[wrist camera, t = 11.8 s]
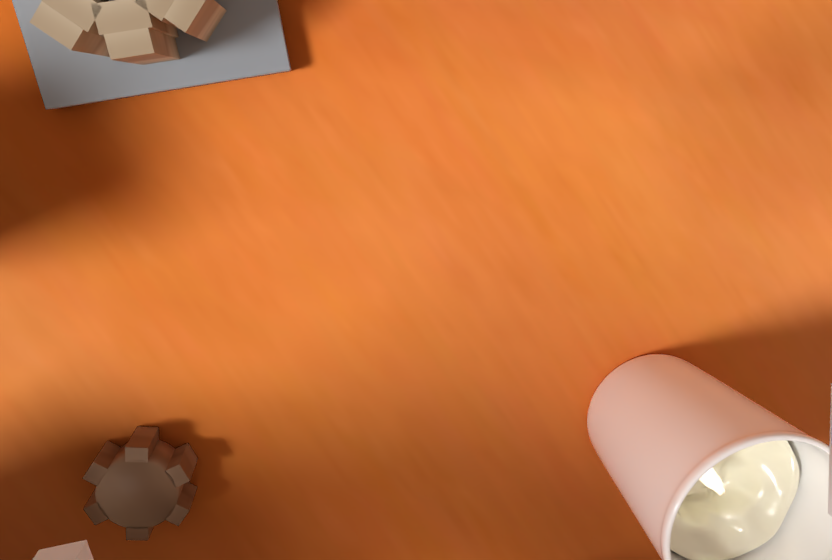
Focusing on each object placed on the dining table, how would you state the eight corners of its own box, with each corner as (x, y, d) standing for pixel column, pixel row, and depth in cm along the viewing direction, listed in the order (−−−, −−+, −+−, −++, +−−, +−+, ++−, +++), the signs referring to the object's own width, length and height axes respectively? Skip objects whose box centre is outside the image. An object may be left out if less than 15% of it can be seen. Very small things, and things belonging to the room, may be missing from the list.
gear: (128, 528, 40) (116, 555, 38) (76, 454, 38) (60, 477, 36) (216, 487, 40) (209, 511, 38) (168, 411, 38) (158, 431, 36)
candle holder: (611, 321, 40) (723, 411, 29) (744, 365, 42) (897, 465, 31) (550, 459, 43) (631, 593, 31) (679, 494, 45) (801, 633, 33)
